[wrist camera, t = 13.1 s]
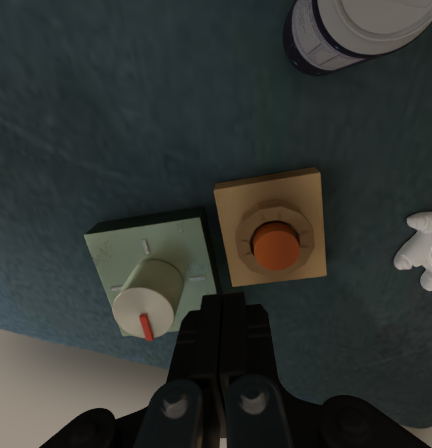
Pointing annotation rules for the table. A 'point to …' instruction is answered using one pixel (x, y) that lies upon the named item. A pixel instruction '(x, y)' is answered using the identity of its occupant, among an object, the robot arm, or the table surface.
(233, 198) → the button block
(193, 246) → the control knob panel
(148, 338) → the rotary dial knob
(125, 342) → the table surface
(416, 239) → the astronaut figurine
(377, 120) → the table surface
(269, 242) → the button
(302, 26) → the beverage can
